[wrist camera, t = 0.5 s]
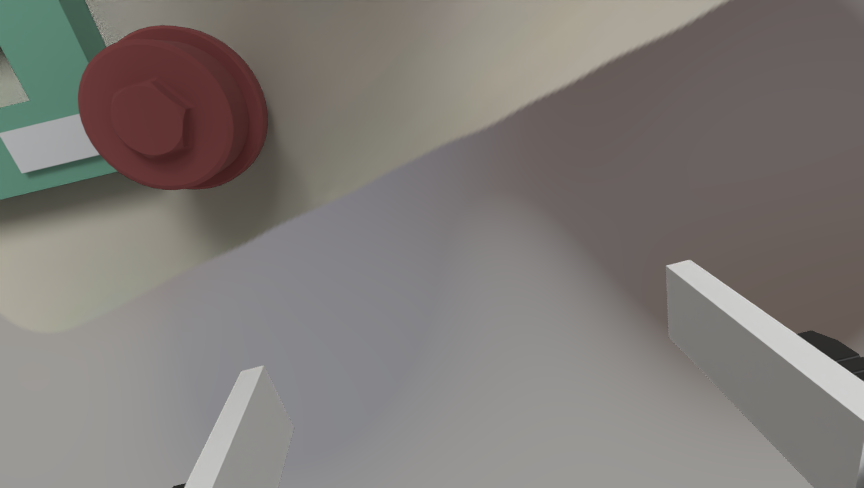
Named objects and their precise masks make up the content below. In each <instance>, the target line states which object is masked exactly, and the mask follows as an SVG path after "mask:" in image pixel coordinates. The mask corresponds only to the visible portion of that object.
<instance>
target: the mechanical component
mask: <svg viewBox="0 0 864 488" xmlns="http://www.w3.org/2000/svg"><path fill="white" fill-rule="evenodd" d="M78 108H79V114H80V118H81V122H82V125H83V127H84V130H85V132H86V134H87V136H88V138H89V140H90V141H91V143H92V145H93V146H94V148H95V149H96V150H97V152H98V153H99V154H100V155H101V156H102V158H103V159H104V160H105V161H106V162H107V163H108V164H109V165H111V166H112V167H113V168H114V169H116V170H117V171H118V172H119V173H121V174H123V175H124V176H126V177H127V178H129V179H131V180H133V181H135V182H138V183H140V184H142V185H146V186H149V187H152V188H158V189H163V190H178V189H206V188H212V187H216V186H220V185H222V184H224V183H227V182H229V181H231V180H232V179H234V178H235V177H237V176H238V175H240V174H241V173H242V172H244V171H245V170H246V169H247V168H248V167H249V166H250V165H251V164H252V163H253V162H254V161H255V159H256V158H257V156H258V155H259V153H260V151H261V149H262V147H263V145H264V141H265V138H266V134H267V126H268V114H267V107H266V102H265V98H264V95H263V92H262V89H261V87H260V85H259V83H258V80H257V79H256V77H255V75H254V74H253V72H252V70H251V69H250V68H249V67H248V65H247V64H246V63H245V61H244V60H243V59H242V58H241V57H240V56H239V55H238V54H237V53H236V52H235V51H234V50H232V49H231V48H230V47H228V46H227V45H226V44H225V43H223V42H221V41H220V40H218V39H216V38H215V37H213V36H210V35H208V34H206V33H203V32H201V31H197V30H194V29H190V28H184V27H177V26H164V25H160V26H151V27H146V28H143V29H139V30H137V31H134V32H132V33H130V34H128V35H126V36H125V37H124V38H122V39H121V40H120V41H118V42H117V43H114V44H112V45H110V46H108V47H106V48H104V49H103V50H102V51H100V52H99V53H98V54H97V55H95V56H94V57H93V59H92V60H91V61H90V62H89V64H88V65H87V67H86V69H85V71H84V72H83V74H82V77H81V81H80V84H79V91H78Z"/></svg>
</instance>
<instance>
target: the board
mask: <svg viewBox="0 0 864 488" xmlns="http://www.w3.org/2000/svg"><path fill="white" fill-rule="evenodd" d="M0 47H1V48H2V50H3V52H4V54H5V56H6V58H7V60H8V61H9V63H10V65H11V67H12V69H13V71H14V72H15V74H16V76H17V78H18V80H19V82H20V83H21V85H22V87H23V89H24V91H25V93H26V94H27V96H28V98H29V100H30V101H26V102H22V103H18V104H14V105H10V106H6V107H2V108H0V200H1V199H5V198H9V197H14V196H18V195H22V194H26V193H30V192H34V191H39V190H43V189H47V188H51V187H55V186H59V185H64V184H68V183H72V182H76V181H80V180H84V179H89V178H93V177H97V176H101V175H105V174H109V173H114V172H118V171H117V170H116V169H114V168H113V167H112V166H111V165H109V164H108V163H107V162H106V161H105V160H104V159H103V158H102V156H101V155H100V154H99V153H98V152H97V150H96V149H95V148H94V146H93V145H92V143H91V141H90V140H89V138H88V136H87V134H86V132H85V130H84V127H83V125H82V122H81V118H80V114H79V108H78V91H79V84H80V81H81V77H82V74H83V72H84V71H85V69H86V67H87V65H88V64H89V62H90V61H91V60H92V59H93V57H94V56H95V55H97V54H98V53H99V52H100V51H102V50H103V49H104V48H106V46H105V44H104V42H103V39H102V37H101V35H100V33H99V31H98V28H97V26H96V24H95V22H94V20H93V18H92V15H91V13H90V11H89V9H88V7H87V5H86V2H85V0H0Z"/></svg>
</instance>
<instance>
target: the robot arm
mask: <svg viewBox="0 0 864 488" xmlns="http://www.w3.org/2000/svg"><path fill="white" fill-rule="evenodd" d="M666 280H667V304H668V326H669V327H668V329H669V338H670V339H671V340H672V341H673V342H674V343H675V344H676V345H677V346H678V347H679V348H680V349H681V350H682V351H683V352H684V353H685V354H686V355H687V356H688V357H689V358H690V359H691V361H693V363H694V364H695V365H696V366H697V367H698V368H699V369H700V370H701V371H702V372H703V373H704V374H705V375H706V376H707V377H708V378H709V379H710V380H711V381H712V382H713V383H714V384H715V385H716V386H717V388H719V390H720V391H721V392H722V393H724V395H725V396H726V397H727V398H728V399H729V400H730V401H731V402H732V403H733V404H734V405H735V406H736V407H737V408H738V409H739V410H740V411H741V413H742V414H744V416H745V417H746V418H747V419H748V420H749V421H750V422H751V423H752V424H753V425H754V426H755V427H756V428H757V429H758V430H759V431H760V432H761V433H762V434H763V435H764V436H765V437H766V438H767V440H769V442H771V444H772V445H773V446H774V447H775V448H776V449H777V450H778V451H779V452H780V453H781V454H782V455H783V456H784V457H785V458H786V459H787V460H788V461H789V462H790V463H791V464H792V465H793V466H794V468H795V469H796V470H797V471H798V472H799V473H800V474H801V475H802V476H803V477H804V478H805V479H806V480H807V481H808V482H809V483H810V484H811V485H812V486H813V487H814V488H864V357H860V356H859V354H858V353H856V352H855V351H853V350H852V349H850V348H848V347H847V346H846V345H844V344H842V343H841V342H839V341H838V340H835V339H832V338H830V337H827V336H825V335H822V334H819V333H816V332H814V331H807V332H803V333H800V334H795V333H794V332H792V331H791V330H789V329H788V328H787V327H785V326H784V325H782V324H781V323H779V322H778V321H777V320H775V319H774V318H772V317H771V316H769V315H768V314H767V313H765V312H764V311H762V310H761V309H759V308H758V307H757V306H755V305H754V304H752V303H751V302H749V301H748V300H747V299H745V298H744V297H742V296H741V295H739V294H738V293H736V292H735V291H734V290H732V289H731V288H730V287H728V286H727V285H725V284H724V283H722V282H721V281H719V280H718V279H717V278H715V277H714V276H712V275H711V274H709V273H708V272H707V271H705V270H704V269H702V268H701V267H700V266H698V265H697V264H695V263H694V262H692V261H691V260H687V261H683V262H679V263H675V264H671V265H667V266H666ZM293 432H294V427H293V425H292V422H291V420H290V418H289V416H288V414H287V412H286V410H285V408H284V406H283V404H282V402H281V400H280V398H279V395H278V393H277V391H276V389H275V387H274V385H273V383H272V381H271V379H270V377H269V375H268V373H267V370H266V368H265V366H260V367H256V368H252V369H248V370H243V371H241V373H240V375H239V377H238V379H237V381H236V383H235V385H234V387H233V389H232V391H231V393H230V395H229V397H228V399H227V401H226V404H225V405H224V407H223V409H222V411H221V413H220V416H219V418H218V420H217V422H216V424H215V426H214V428H213V430H212V432H211V434H210V436H209V438H208V440H207V442H206V445H205V446H204V448H203V450H202V452H201V454H200V457H199V459H198V461H197V463H196V465H195V467H194V469H193V471H192V473H191V475H190V477H189V479H188V481H187V483H185V484H181V485H177V486H174V487H173V488H278V486H279V483H280V479H281V476H282V472H283V468H284V465H285V461H286V457H287V454H288V450H289V446H290V443H291V439H292V435H293Z"/></svg>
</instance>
